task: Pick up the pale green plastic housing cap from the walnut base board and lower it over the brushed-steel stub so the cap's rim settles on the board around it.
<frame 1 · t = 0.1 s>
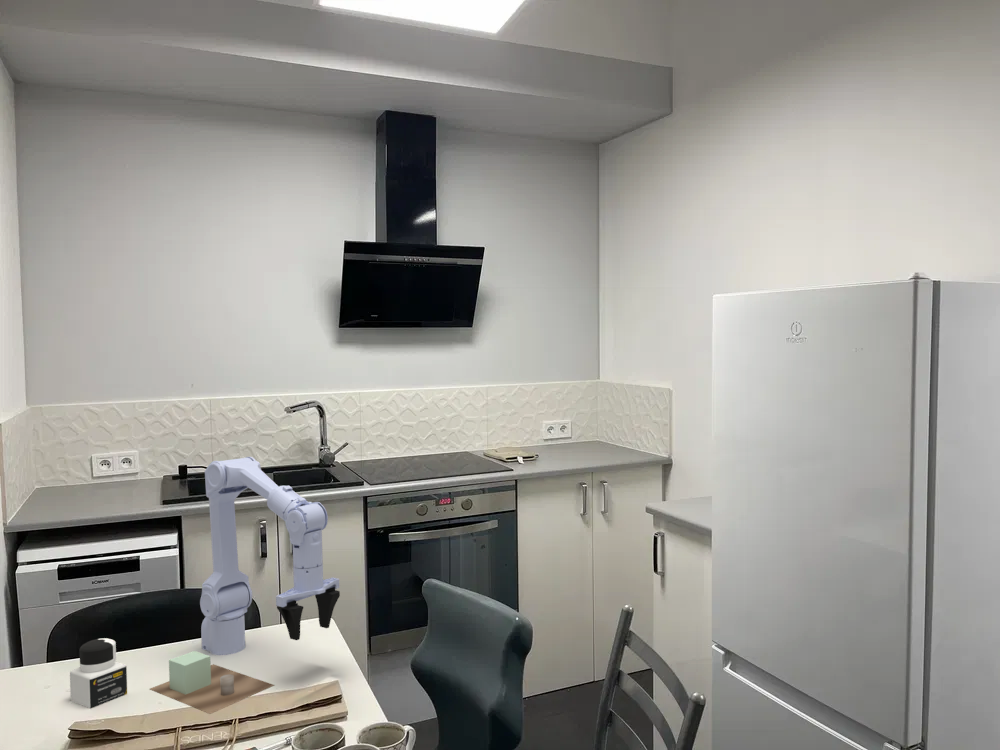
hand: (310, 632, 146), 10 cm above the table, tool pointing down, fingers open, 7 cm apart
base board: (212, 694, 142), on the table
medicine bottle: (99, 705, 139), on the table
housing cap: (190, 686, 143), point 1 cm above the table, touching base board
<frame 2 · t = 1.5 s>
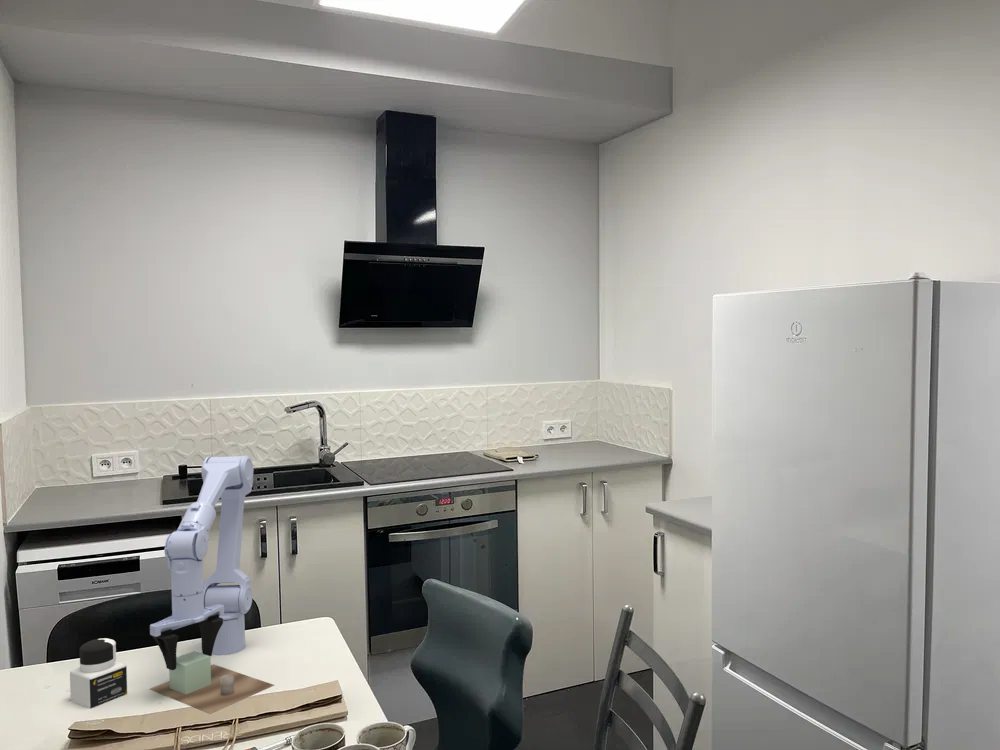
hand: (189, 661, 142), 6 cm above the table, tool pointing down, fingers open, 7 cm apart
nothing on the table moved.
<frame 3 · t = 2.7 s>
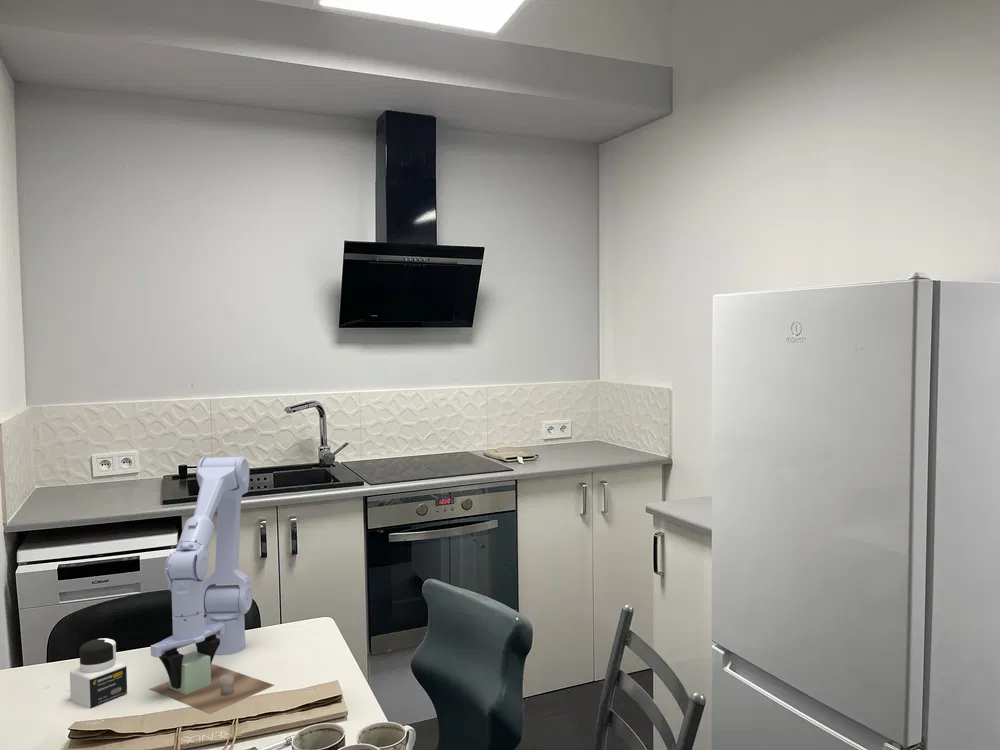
hand: (190, 681, 143), 2 cm above the table, tool pointing down, fingers closed on housing cap, 5 cm apart
housing cap: (190, 686, 143), point 2 cm above the table, touching base board, gripper
everything else where it was.
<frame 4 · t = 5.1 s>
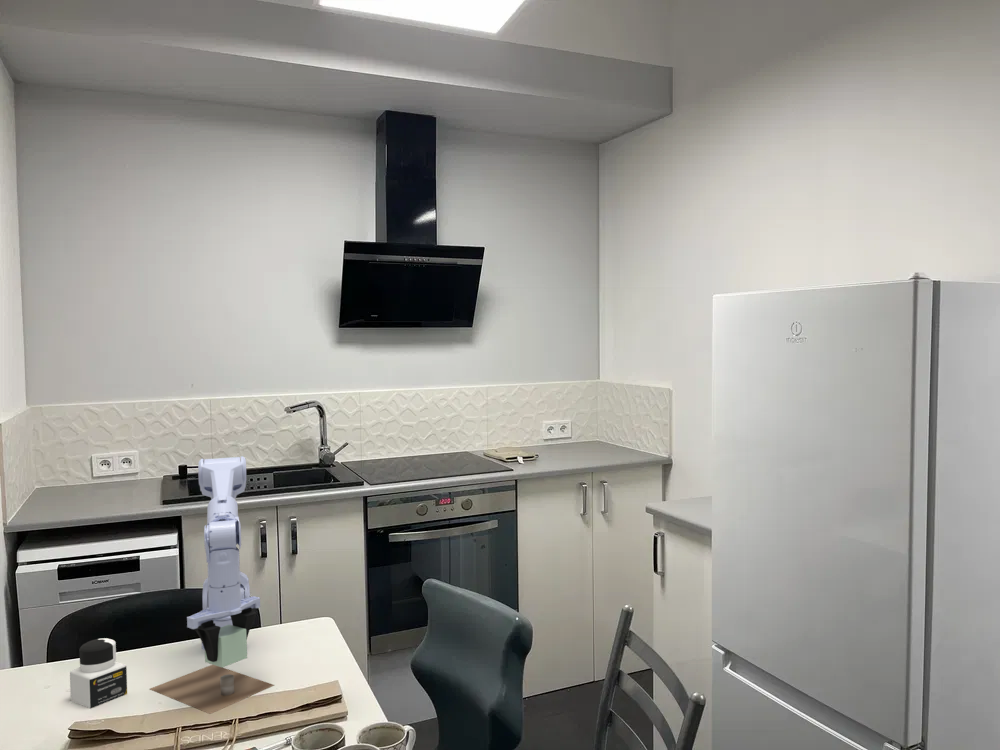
hand: (226, 655, 139), 9 cm above the table, tool pointing down, fingers closed on housing cap, 5 cm apart
housing cap: (226, 659, 139), point 8 cm above the table, touching gripper
everything else where it was.
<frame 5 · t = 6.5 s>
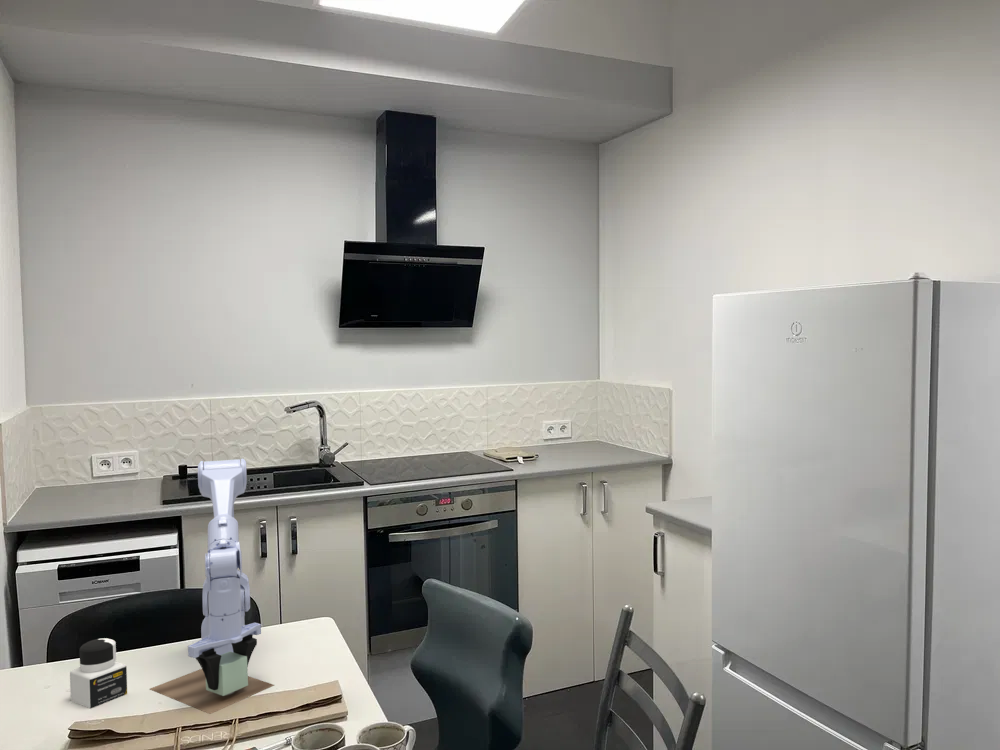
hand: (227, 682, 139), 3 cm above the table, tool pointing down, fingers closed on housing cap, 5 cm apart
housing cap: (227, 687, 139), point 2 cm above the table, touching gripper
everything else where it was.
when the fingers open (3 cm above the table, at t = 7.4 s): housing cap stays where it is, resting on base board.
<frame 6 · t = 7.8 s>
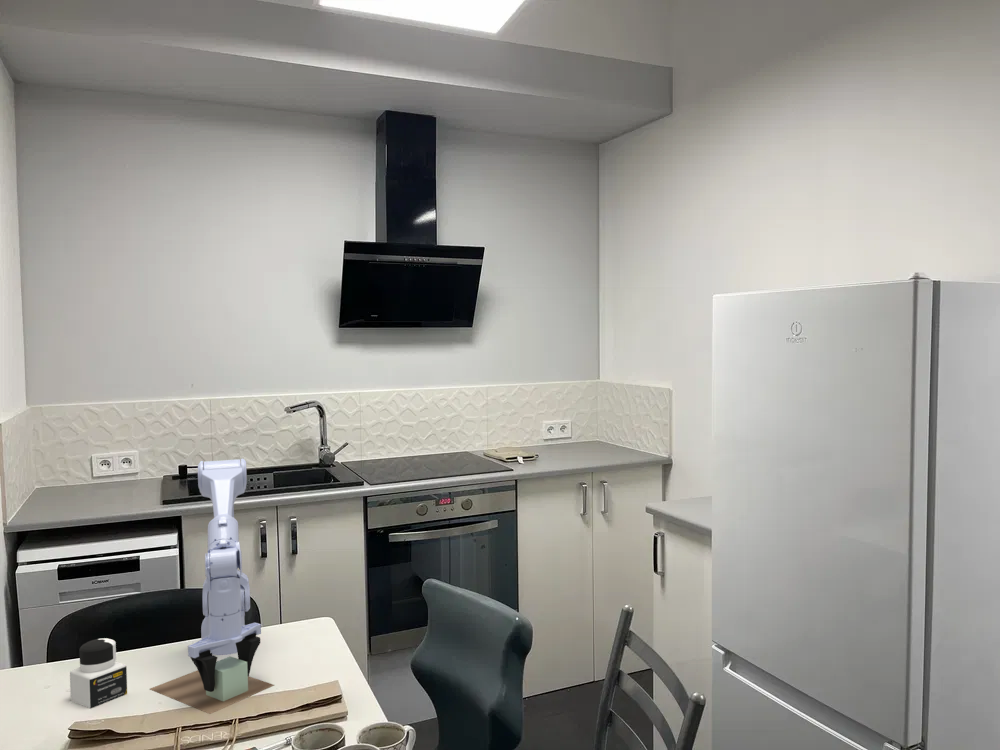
hand: (227, 682, 139), 3 cm above the table, tool pointing down, fingers open, 7 cm apart
housing cap: (227, 692, 139), point 1 cm above the table, touching base board
everything else where it was.
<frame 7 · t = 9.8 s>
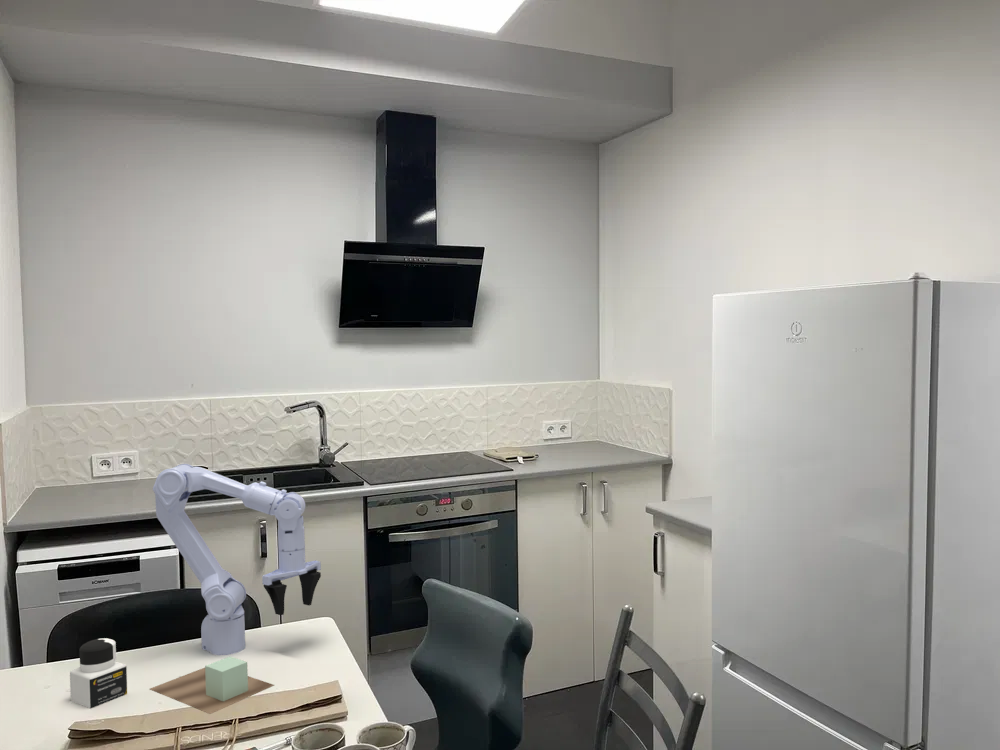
hand: (293, 609, 163), 9 cm above the table, tool pointing down, fingers open, 7 cm apart
nothing on the table moved.
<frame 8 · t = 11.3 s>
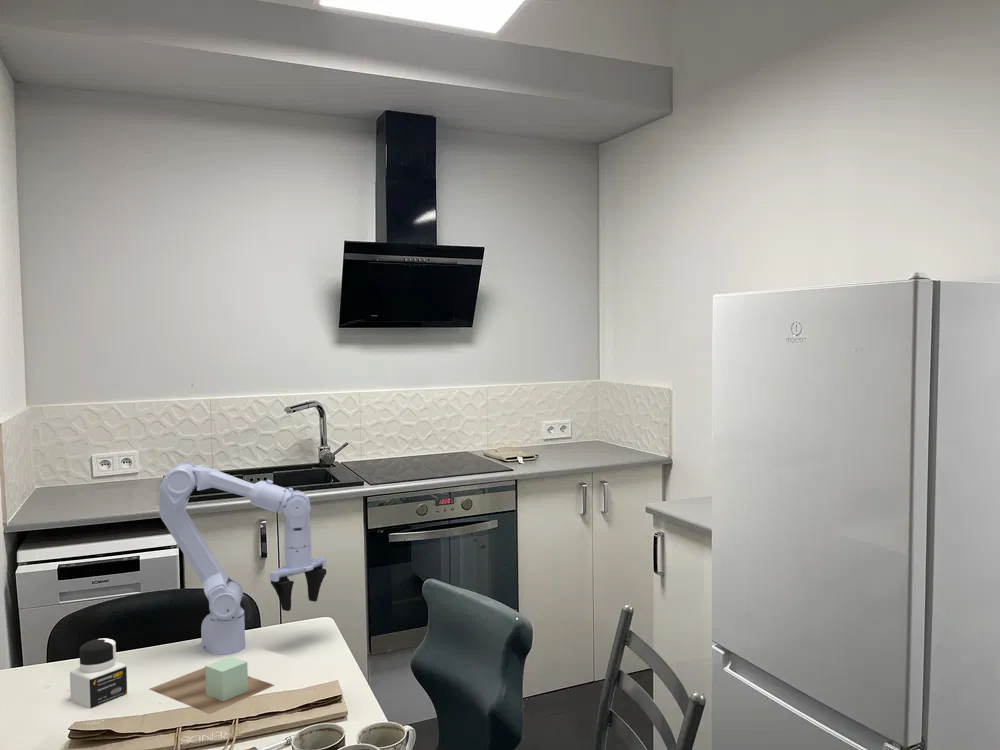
hand: (299, 605, 166), 9 cm above the table, tool pointing down, fingers open, 7 cm apart
nothing on the table moved.
at the end: housing cap 0.1 cm from the target spot on the base board, point 1.5 cm above the base board's base; housing cap tilted 0°; the gripper is holding nothing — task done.
